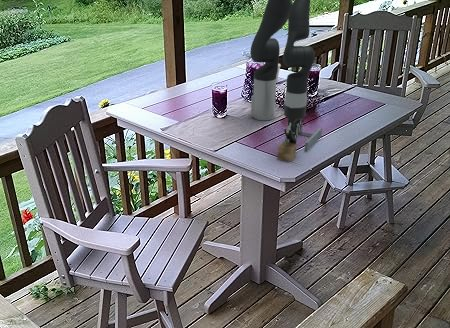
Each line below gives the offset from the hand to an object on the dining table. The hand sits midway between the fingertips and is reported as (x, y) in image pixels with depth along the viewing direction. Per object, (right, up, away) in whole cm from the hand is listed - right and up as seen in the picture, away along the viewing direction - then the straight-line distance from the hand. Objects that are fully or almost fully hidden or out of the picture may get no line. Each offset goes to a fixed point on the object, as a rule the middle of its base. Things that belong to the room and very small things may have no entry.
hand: (292, 148), depth 188 cm
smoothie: (0, +35, +75) cm, 83 cm away
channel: (+6, +3, +10) cm, 12 cm away
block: (-2, -4, -3) cm, 5 cm away
